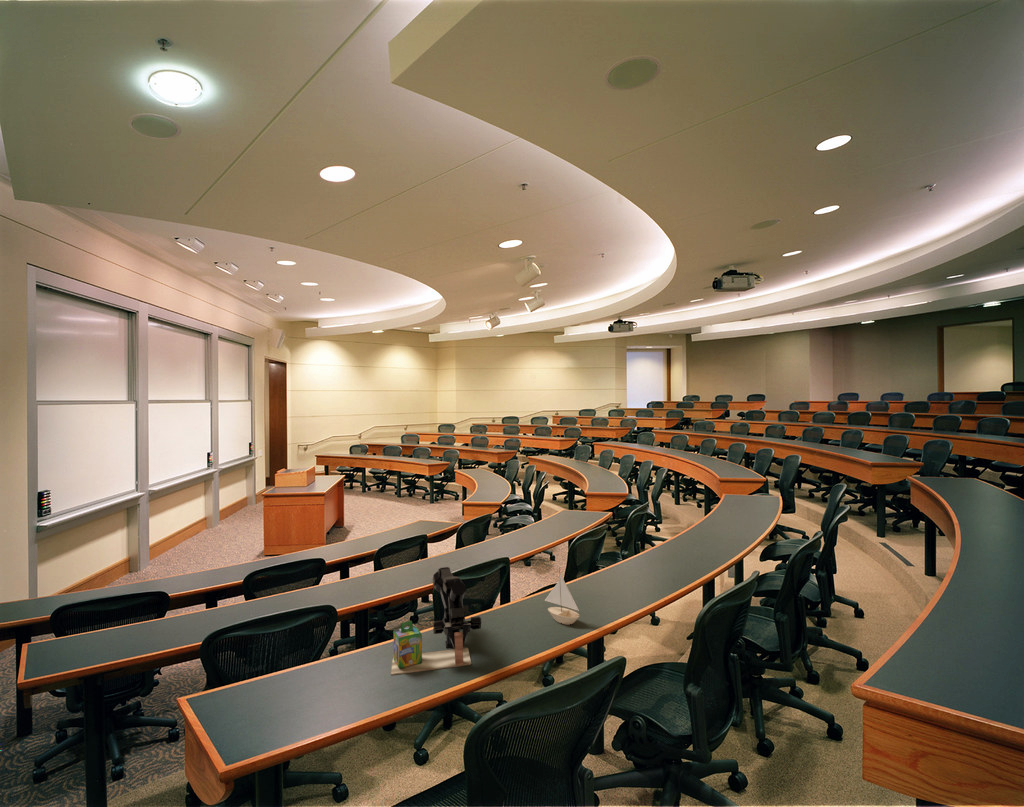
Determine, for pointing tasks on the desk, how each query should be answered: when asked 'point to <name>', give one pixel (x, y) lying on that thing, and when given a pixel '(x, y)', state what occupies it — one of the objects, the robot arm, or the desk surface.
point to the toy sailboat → (562, 603)
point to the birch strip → (439, 659)
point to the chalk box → (407, 646)
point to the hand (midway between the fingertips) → (458, 647)
